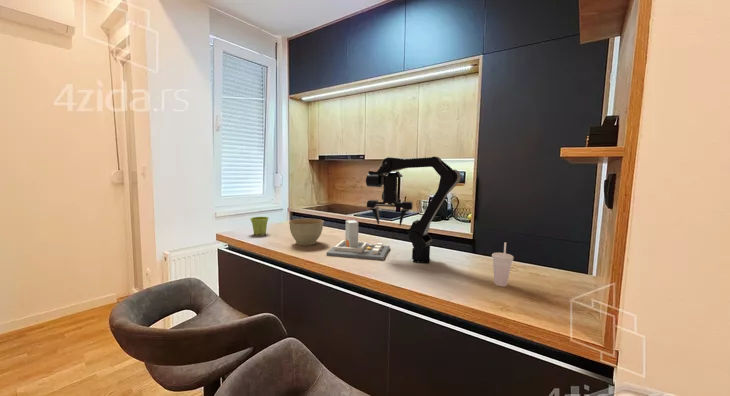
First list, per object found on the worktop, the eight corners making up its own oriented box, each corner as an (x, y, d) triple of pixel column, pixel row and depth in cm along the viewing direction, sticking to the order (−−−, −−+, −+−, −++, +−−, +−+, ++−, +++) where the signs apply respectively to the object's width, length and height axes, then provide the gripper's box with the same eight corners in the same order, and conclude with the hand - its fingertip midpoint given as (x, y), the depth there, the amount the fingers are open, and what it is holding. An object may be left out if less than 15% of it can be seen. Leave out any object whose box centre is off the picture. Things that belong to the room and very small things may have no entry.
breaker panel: (389, 248, 137) (389, 242, 137) (383, 260, 120) (383, 253, 119) (339, 244, 142) (339, 238, 142) (326, 255, 125) (326, 248, 124)
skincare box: (345, 246, 135) (345, 220, 133) (353, 245, 136) (354, 219, 135) (349, 250, 129) (349, 222, 128) (358, 249, 130) (358, 222, 129)
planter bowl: (327, 246, 139) (327, 223, 138) (291, 249, 133) (291, 225, 132) (319, 238, 154) (319, 217, 153) (287, 240, 148) (287, 218, 147)
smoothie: (510, 289, 93) (513, 245, 91) (488, 285, 96) (491, 242, 94) (512, 283, 98) (515, 241, 96) (491, 279, 101) (494, 238, 100)
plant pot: (258, 236, 155) (257, 220, 154) (246, 234, 160) (246, 218, 159) (272, 233, 163) (272, 217, 162) (261, 231, 168) (261, 216, 167)
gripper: (414, 187, 130) (412, 222, 132) (372, 186, 134) (371, 220, 136) (412, 189, 119) (411, 227, 121) (366, 187, 123) (366, 224, 125)
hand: (389, 224), depth 126 cm, fingers open, 9 cm apart
